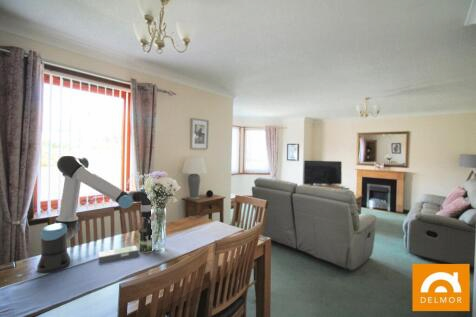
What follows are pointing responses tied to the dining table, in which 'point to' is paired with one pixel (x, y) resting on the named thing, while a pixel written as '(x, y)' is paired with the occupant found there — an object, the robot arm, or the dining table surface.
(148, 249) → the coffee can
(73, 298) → the dining table surface
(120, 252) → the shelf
